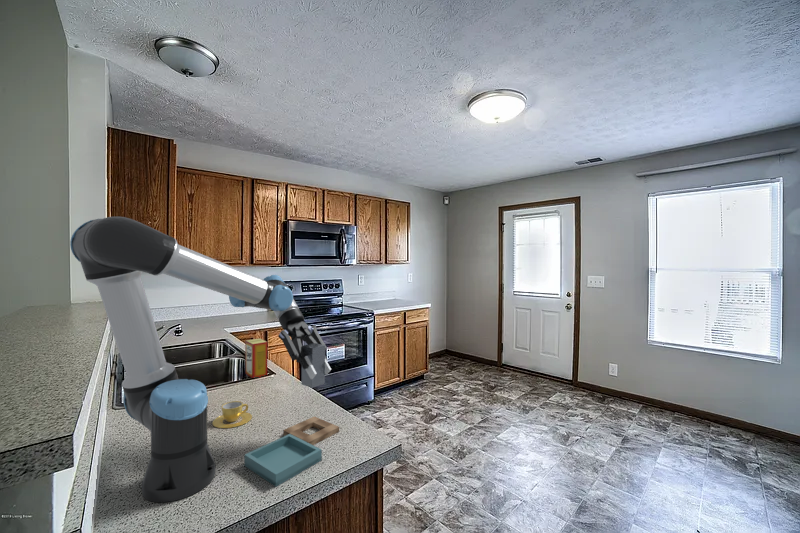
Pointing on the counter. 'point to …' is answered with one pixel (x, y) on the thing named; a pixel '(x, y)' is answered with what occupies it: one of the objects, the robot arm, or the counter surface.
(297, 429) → the socket plate
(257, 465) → the tray
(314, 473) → the counter surface
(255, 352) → the baking soda box
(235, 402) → the cup
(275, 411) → the counter surface
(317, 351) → the grey rectangular block
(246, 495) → the counter surface
